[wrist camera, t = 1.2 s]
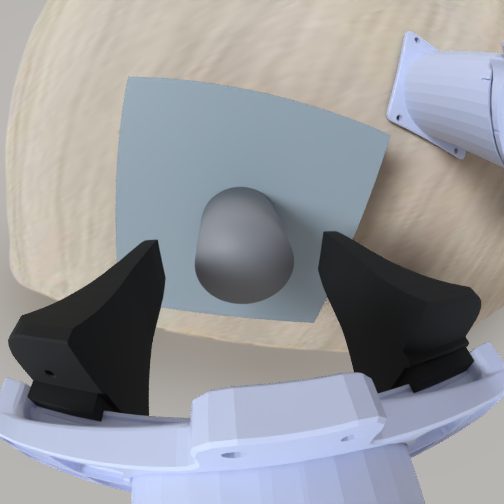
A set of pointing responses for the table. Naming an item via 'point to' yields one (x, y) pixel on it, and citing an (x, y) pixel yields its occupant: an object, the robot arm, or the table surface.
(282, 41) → the table surface
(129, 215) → the lid
